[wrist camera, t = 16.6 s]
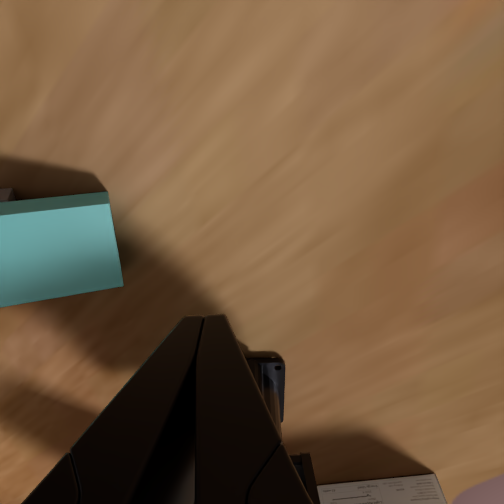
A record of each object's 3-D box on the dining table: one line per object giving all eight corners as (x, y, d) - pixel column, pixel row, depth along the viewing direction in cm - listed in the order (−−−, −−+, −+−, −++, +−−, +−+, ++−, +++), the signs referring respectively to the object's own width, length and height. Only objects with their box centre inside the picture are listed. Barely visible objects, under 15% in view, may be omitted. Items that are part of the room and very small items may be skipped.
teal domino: (123, 286, 22) (-93, 323, 19) (121, 270, 23) (-82, 303, 20) (108, 203, 20) (-143, 231, 17) (107, 191, 21) (-127, 215, 18)
